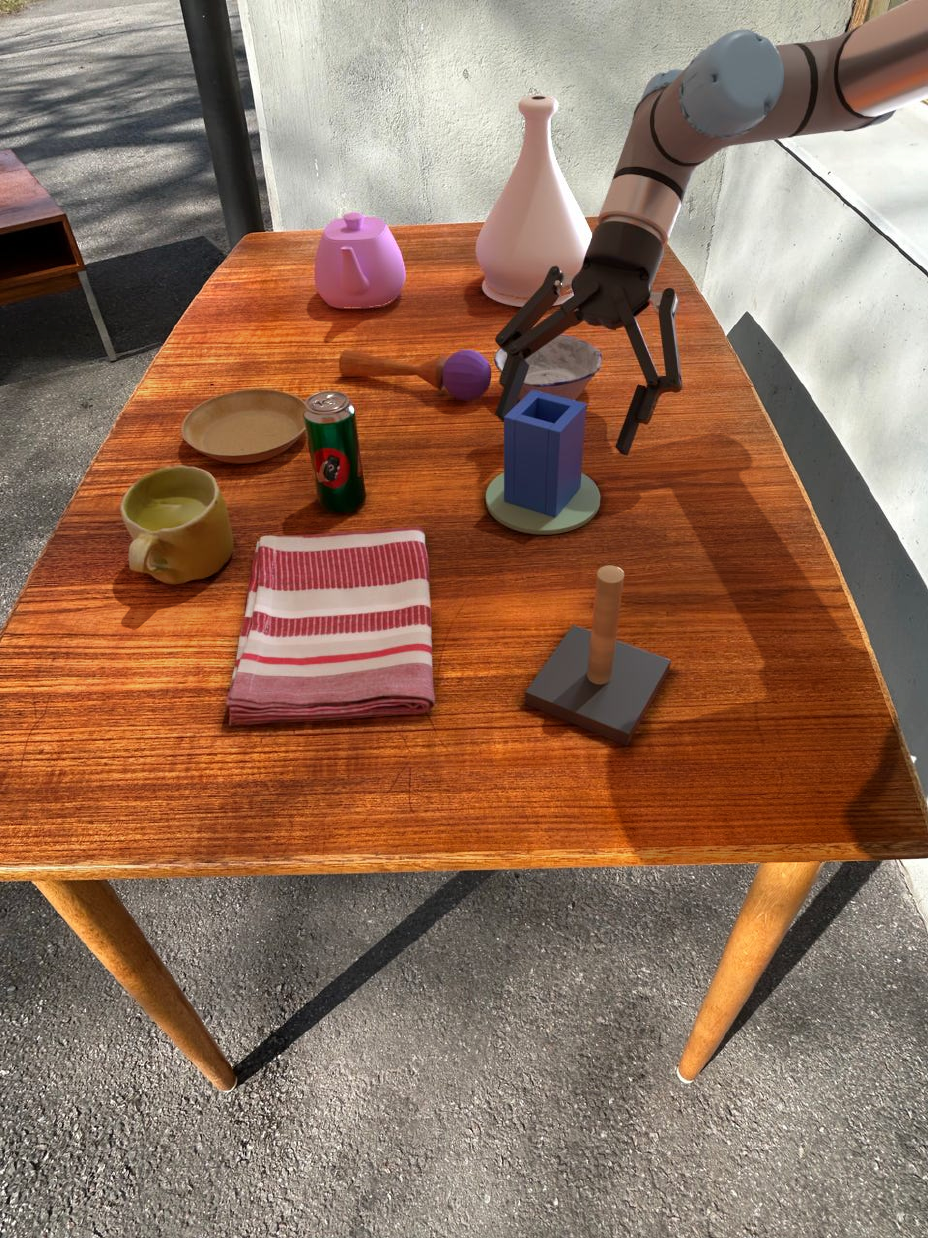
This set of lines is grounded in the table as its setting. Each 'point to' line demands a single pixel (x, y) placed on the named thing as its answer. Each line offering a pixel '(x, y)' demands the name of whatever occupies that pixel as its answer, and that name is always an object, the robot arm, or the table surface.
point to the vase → (532, 217)
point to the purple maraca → (428, 371)
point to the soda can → (334, 451)
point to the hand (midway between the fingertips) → (559, 435)
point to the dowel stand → (599, 671)
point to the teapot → (358, 263)
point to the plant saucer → (245, 425)
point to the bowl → (558, 367)
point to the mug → (177, 525)
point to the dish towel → (335, 629)
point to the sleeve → (543, 452)
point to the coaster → (537, 523)
